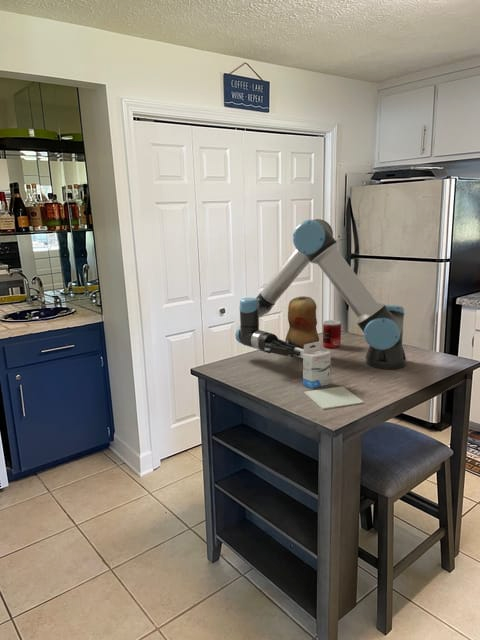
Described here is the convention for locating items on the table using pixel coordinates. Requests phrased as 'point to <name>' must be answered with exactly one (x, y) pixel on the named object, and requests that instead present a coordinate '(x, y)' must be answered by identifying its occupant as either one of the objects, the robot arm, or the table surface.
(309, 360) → the ink box
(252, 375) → the table surface
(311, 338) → the butternut squash
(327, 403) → the sage mat
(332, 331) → the canned food
